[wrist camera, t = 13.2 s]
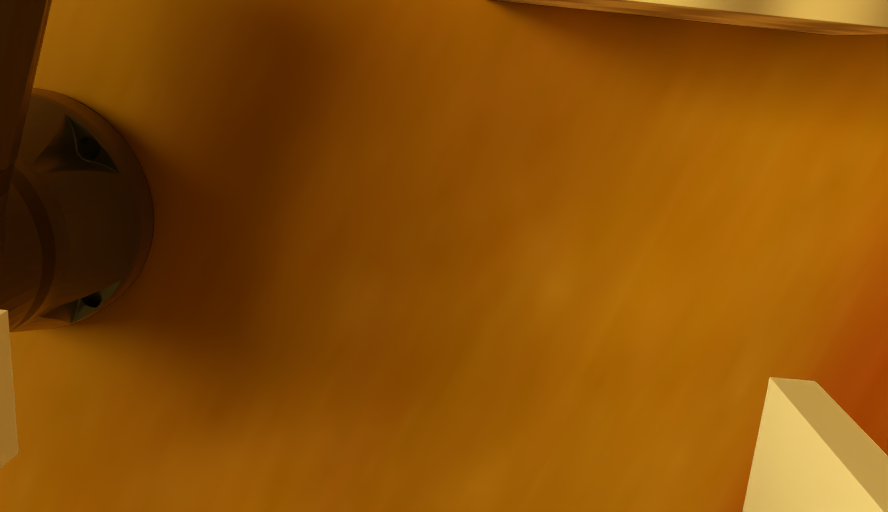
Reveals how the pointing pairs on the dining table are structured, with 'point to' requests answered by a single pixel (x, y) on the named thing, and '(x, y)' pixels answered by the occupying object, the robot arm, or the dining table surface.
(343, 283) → the dining table surface
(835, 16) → the rack
